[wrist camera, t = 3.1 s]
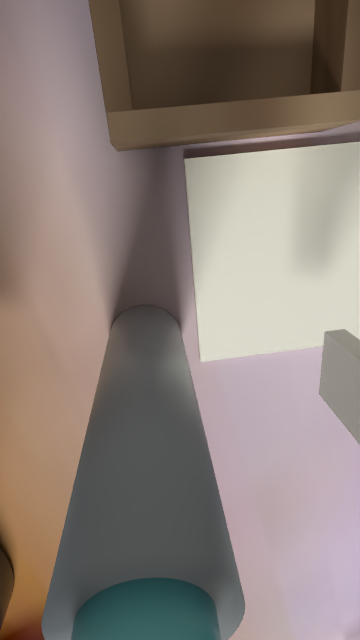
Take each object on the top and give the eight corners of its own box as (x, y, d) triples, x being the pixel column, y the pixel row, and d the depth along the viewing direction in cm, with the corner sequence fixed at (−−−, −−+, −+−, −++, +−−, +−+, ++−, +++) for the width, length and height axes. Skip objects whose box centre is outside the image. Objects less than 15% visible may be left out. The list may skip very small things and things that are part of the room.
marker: (116, 373, 16) (54, 776, 5) (103, 309, 15) (-17, 671, 4) (184, 364, 16) (263, 736, 5) (177, 300, 15) (265, 622, 4)
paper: (199, 359, 16) (200, 362, 16) (183, 159, 13) (184, 158, 12) (464, 324, 17) (470, 326, 17) (518, 126, 14) (528, 124, 13)
